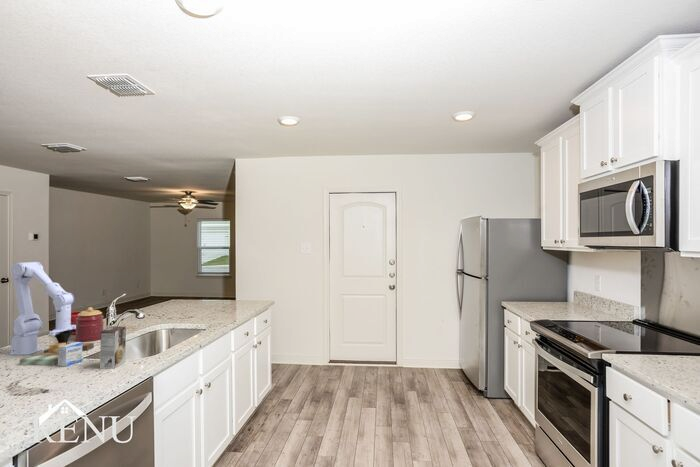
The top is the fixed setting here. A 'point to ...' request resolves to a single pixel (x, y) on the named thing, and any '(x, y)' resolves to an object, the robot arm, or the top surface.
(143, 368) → the top surface
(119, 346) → the coffee box
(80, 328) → the canister
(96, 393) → the top surface
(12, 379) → the top surface
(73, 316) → the plant pot
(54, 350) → the block
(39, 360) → the wooden slab structure
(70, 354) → the medicine box
